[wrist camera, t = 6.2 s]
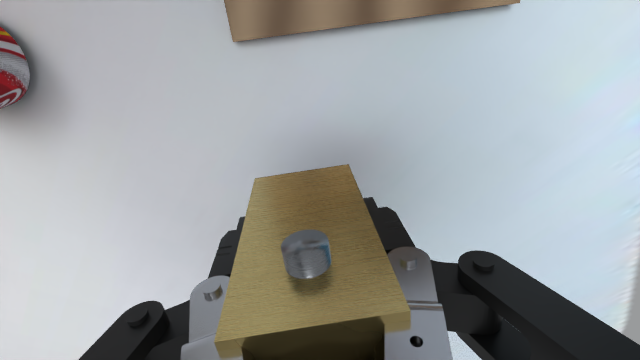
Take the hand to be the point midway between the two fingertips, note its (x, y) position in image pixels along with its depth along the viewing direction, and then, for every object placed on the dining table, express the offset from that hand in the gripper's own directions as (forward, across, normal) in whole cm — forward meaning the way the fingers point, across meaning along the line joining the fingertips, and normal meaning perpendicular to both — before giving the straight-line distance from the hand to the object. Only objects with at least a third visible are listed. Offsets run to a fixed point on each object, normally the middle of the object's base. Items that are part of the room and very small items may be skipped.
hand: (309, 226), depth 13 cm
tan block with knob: (+1, 0, 0) cm, 1 cm away
